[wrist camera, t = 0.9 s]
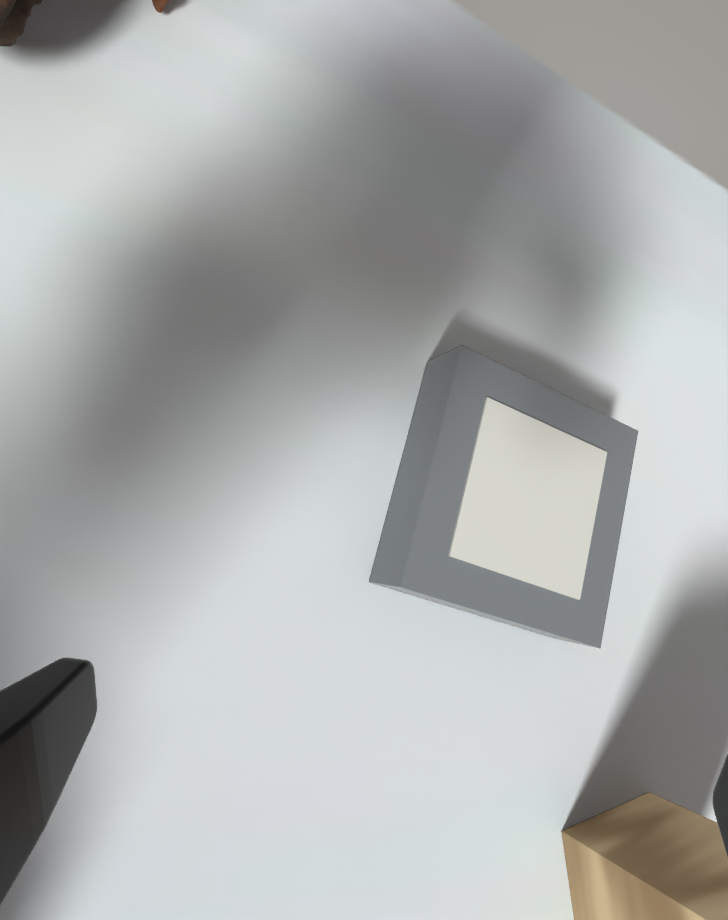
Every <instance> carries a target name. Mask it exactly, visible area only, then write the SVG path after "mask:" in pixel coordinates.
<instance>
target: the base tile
mask: <svg viewBox="0 0 728 920" xmlns="http://www.w3.org/2000/svg"><path fill="white" fill-rule="evenodd" d="M637 435H638V431H637V430H635V429H633V428H631V427H629V426H627V425H625V424H623V423H621V422H619V421H617V420H615V419H613V418H611V417H608V416H606V415H604V414H602V413H600V412H598V411H596V410H594V409H592V408H590V407H588V406H586V405H584V404H582V403H580V402H578V401H576V400H574V399H572V398H569V397H567V396H565V395H563V394H561V393H559V392H557V391H555V390H553V389H551V388H549V387H547V386H545V385H543V384H541V383H539V382H537V381H535V380H533V379H530V378H528V377H526V376H524V375H522V374H520V373H518V372H516V371H514V370H512V369H510V368H508V367H506V366H504V365H502V364H500V363H498V362H496V361H494V360H491V359H489V358H487V357H485V356H483V355H481V354H479V353H477V352H475V351H473V350H471V349H469V348H467V347H465V346H463V345H461V346H459V347H457V348H455V349H453V350H451V351H449V352H446V353H444V354H442V355H440V356H438V357H436V358H434V359H432V360H430V361H428V362H427V365H426V369H425V372H424V376H423V380H422V384H421V388H420V391H419V395H418V399H417V403H416V406H415V410H414V414H413V418H412V421H411V425H410V429H409V433H408V437H407V440H406V444H405V448H404V452H403V455H402V459H401V463H400V467H399V470H398V474H397V478H396V482H395V485H394V489H393V493H392V497H391V501H390V504H389V508H388V512H387V516H386V519H385V523H384V527H383V531H382V534H381V538H380V542H379V546H378V550H377V553H376V557H375V561H374V565H373V568H372V572H371V576H370V580H369V582H370V583H373V584H377V585H380V586H383V587H387V588H390V589H393V590H397V591H400V592H403V593H406V594H410V595H413V596H416V597H420V598H423V599H426V600H430V601H433V602H436V603H440V604H443V605H446V606H449V607H453V608H456V609H459V610H463V611H466V612H469V613H473V614H476V615H479V616H482V617H486V618H489V619H492V620H496V621H499V622H502V623H506V624H509V625H512V626H515V627H519V628H522V629H525V630H529V631H532V632H535V633H539V634H542V635H545V636H549V637H552V638H555V639H560V640H564V641H569V642H573V643H578V644H583V645H587V646H592V647H597V648H600V647H601V642H602V636H603V630H604V624H605V619H606V613H607V607H608V602H609V596H610V590H611V584H612V579H613V573H614V567H615V561H616V556H617V550H618V544H619V538H620V533H621V527H622V521H623V515H624V510H625V504H626V498H627V492H628V487H629V481H630V475H631V469H632V464H633V458H634V452H635V446H636V441H637Z"/></svg>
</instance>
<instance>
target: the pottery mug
mask: <svg viewBox="0 0 728 920" xmlns="http://www.w3.org/2000/svg"><path fill="white" fill-rule="evenodd" d="M42 1H43V0H0V46H12V45H13V44H15V40H16V38H17V37H19V36H20V35H22V33H23V31H24V27H25V24H26V20H27V18H28V17H29V16H30V12H31V9H32V7H33V6H34V5H35V4H40V3H41V2H42ZM152 1H153V5H154V7H155V9H156V11H157V12H159V13H161V12H162V11H163V10H164V7H165V4H166V3H167V2H168V1H170V0H152Z"/></svg>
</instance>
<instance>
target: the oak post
mask: <svg viewBox="0 0 728 920" xmlns="http://www.w3.org/2000/svg"><path fill="white" fill-rule="evenodd" d="M562 838H563V845H564V852H565V859H566V865H567V872H568V879H569V886H570V893H571V900H572V907H573V913H574V920H728V858H727V854H726V851H725V847H724V844H723V840H722V837H721V833H720V830H719V826H718V823H717V822H714V821H712V820H710V819H708V818H705V817H703V816H701V815H699V814H697V813H694V812H692V811H690V810H688V809H685V808H683V807H681V806H679V805H677V804H674V803H672V802H670V801H668V800H666V799H663V798H661V797H659V796H657V795H654V794H652V793H650V792H648V793H646V794H644V795H642V796H639V797H637V798H635V799H633V800H630V801H628V802H626V803H624V804H622V805H619V806H617V807H615V808H613V809H610V810H608V811H606V812H604V813H601V814H599V815H597V816H595V817H592V818H590V819H588V820H586V821H583V822H581V823H579V824H577V825H574V826H572V827H570V828H568V829H565V830H563V831H562Z"/></svg>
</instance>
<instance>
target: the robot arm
mask: <svg viewBox="0 0 728 920" xmlns="http://www.w3.org/2000/svg"><path fill="white" fill-rule="evenodd" d="M96 712H97V698H96V686H95V674H94V667H93V665H92V663H91V662H90V661H88V660H82V659H74V658H61V659H59V660H57V661H55V662H53V663H51V664H49V665H48V666H46V667H44V668H42V669H40V670H38V671H36V672H35V673H33V674H31V675H29V676H27V677H25V678H23V679H21V680H20V681H18V682H16V683H14V684H12V685H10V686H8V687H7V688H5V689H3V690H1V691H0V905H1V903H2V901H3V900H4V898H5V896H6V894H7V893H8V891H9V889H10V888H11V886H12V884H13V882H14V881H15V879H16V877H17V876H18V874H19V872H20V870H21V869H22V867H23V865H24V864H25V862H26V860H27V858H28V857H29V855H30V853H31V851H32V850H33V848H34V846H35V845H36V843H37V841H38V839H39V837H40V836H41V834H42V832H43V830H44V828H45V826H46V824H47V822H48V820H49V818H50V816H51V814H52V812H53V810H54V808H55V806H56V804H57V801H58V799H59V797H60V795H61V793H62V790H63V788H64V786H65V784H66V782H67V780H68V777H69V775H70V773H71V771H72V769H73V766H74V764H75V762H76V760H77V758H78V756H79V753H80V751H81V749H82V747H83V745H84V742H85V740H86V738H87V736H88V734H89V732H90V729H91V727H92V725H93V723H94V720H95V717H96ZM713 808H714V812H715V816H716V819H717V823H718V826H719V830H720V833H721V837H722V840H723V844H724V847H725V851H726V854H727V858H728V755H727V757H726V759H725V762H724V765H723V767H722V770H721V772H720V775H719V778H718V780H717V783H716V785H715V788H714V792H713Z"/></svg>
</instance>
